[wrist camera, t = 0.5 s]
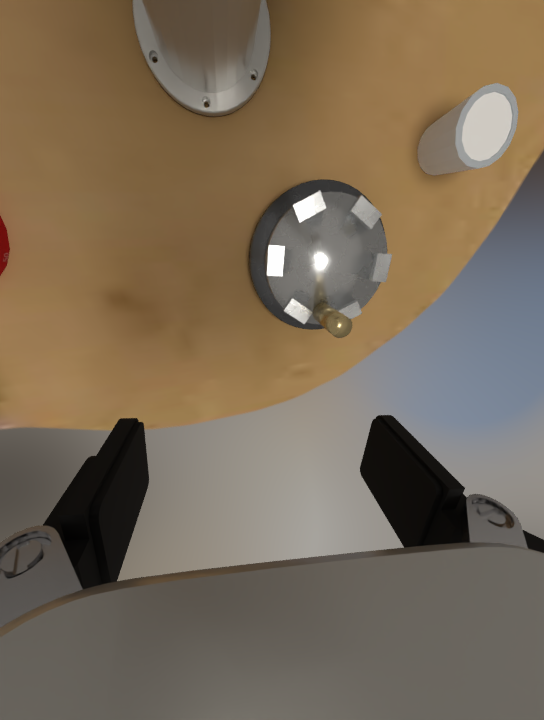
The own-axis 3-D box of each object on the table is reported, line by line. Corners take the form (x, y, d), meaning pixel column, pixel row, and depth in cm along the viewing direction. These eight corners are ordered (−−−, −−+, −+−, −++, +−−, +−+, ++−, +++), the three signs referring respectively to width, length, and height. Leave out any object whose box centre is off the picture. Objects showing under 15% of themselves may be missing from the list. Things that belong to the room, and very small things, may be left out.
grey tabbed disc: (267, 188, 31) (283, 169, 22) (387, 201, 33) (442, 189, 25) (260, 317, 36) (271, 340, 28) (363, 320, 39) (400, 342, 31)
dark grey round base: (252, 174, 32) (253, 170, 30) (392, 191, 35) (402, 188, 33) (247, 324, 39) (248, 328, 37) (364, 326, 42) (370, 331, 40)
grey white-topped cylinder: (402, 166, 34) (443, 149, 28) (432, 101, 32) (483, 66, 25) (444, 190, 36) (491, 179, 29) (474, 130, 34) (532, 104, 27)
